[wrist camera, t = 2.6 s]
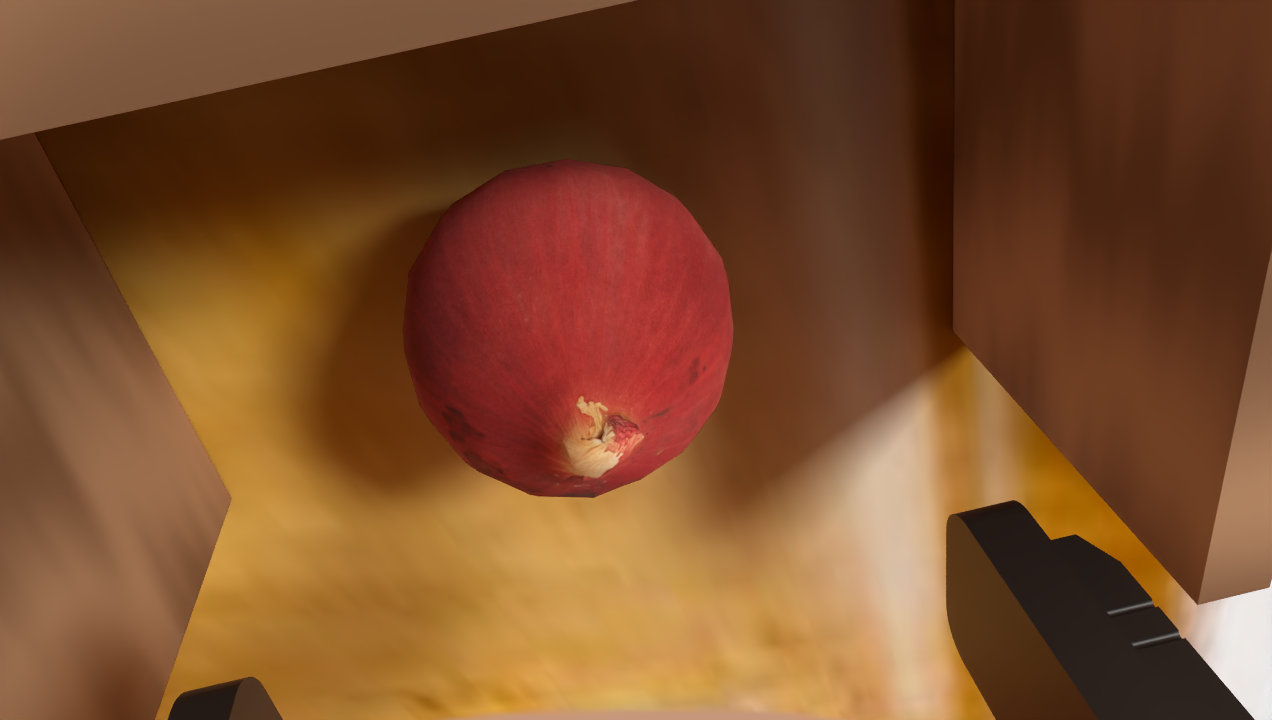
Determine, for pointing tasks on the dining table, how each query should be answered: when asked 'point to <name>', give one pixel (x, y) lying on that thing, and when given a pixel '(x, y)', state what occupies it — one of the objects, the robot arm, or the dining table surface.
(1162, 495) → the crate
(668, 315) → the onion
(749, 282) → the dining table surface
